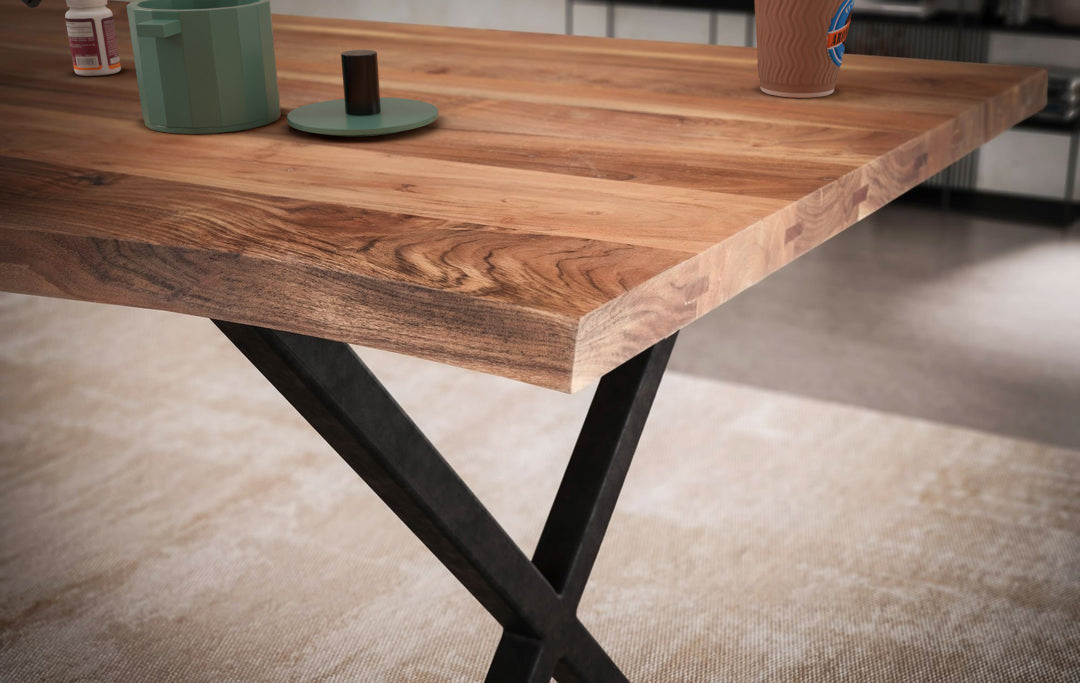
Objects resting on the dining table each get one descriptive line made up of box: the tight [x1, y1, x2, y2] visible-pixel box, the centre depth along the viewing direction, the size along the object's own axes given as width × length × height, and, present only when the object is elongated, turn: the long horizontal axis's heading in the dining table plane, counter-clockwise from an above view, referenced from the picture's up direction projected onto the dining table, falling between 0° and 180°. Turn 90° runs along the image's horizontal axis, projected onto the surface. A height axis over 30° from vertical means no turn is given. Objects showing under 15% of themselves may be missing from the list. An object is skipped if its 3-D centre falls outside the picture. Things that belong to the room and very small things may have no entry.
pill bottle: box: [64, 0, 122, 77], centre depth 123 cm, size 5×5×8 cm
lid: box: [286, 49, 440, 138], centre depth 99 cm, size 13×13×6 cm
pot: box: [126, 0, 282, 135], centre depth 101 cm, size 12×17×10 cm
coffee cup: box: [754, 0, 855, 99], centre depth 109 cm, size 10×10×12 cm
